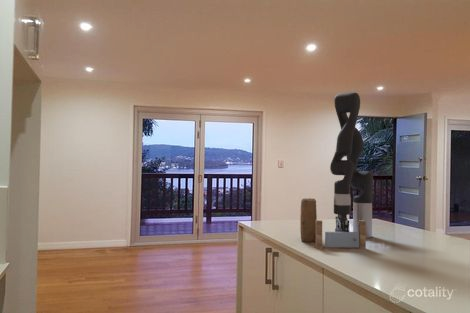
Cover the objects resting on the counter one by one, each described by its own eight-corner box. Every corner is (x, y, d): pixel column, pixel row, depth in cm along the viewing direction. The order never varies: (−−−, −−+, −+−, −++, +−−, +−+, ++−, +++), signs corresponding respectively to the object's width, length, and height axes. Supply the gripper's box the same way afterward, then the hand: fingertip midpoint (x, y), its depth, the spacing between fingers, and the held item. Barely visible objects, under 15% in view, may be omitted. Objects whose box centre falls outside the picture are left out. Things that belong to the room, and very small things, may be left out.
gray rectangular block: (335, 241, 179) (335, 228, 179) (345, 241, 179) (345, 228, 179) (338, 243, 174) (338, 230, 174) (349, 243, 174) (349, 230, 174)
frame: (315, 247, 170) (315, 220, 170) (363, 247, 170) (363, 220, 171) (316, 248, 168) (316, 220, 168) (365, 248, 168) (365, 221, 168)
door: (325, 246, 170) (325, 231, 170) (357, 246, 170) (357, 231, 170) (326, 247, 167) (326, 232, 167) (359, 248, 167) (360, 233, 167)
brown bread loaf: (317, 242, 180) (317, 199, 180) (300, 242, 181) (300, 199, 181) (315, 238, 191) (315, 197, 191) (300, 237, 192) (300, 197, 192)
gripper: (355, 205, 169) (355, 244, 169) (345, 202, 184) (345, 237, 184) (338, 205, 169) (338, 244, 169) (329, 201, 184) (329, 237, 183)
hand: (342, 240), depth 176 cm, fingers closed on gray rectangular block, 5 cm apart
